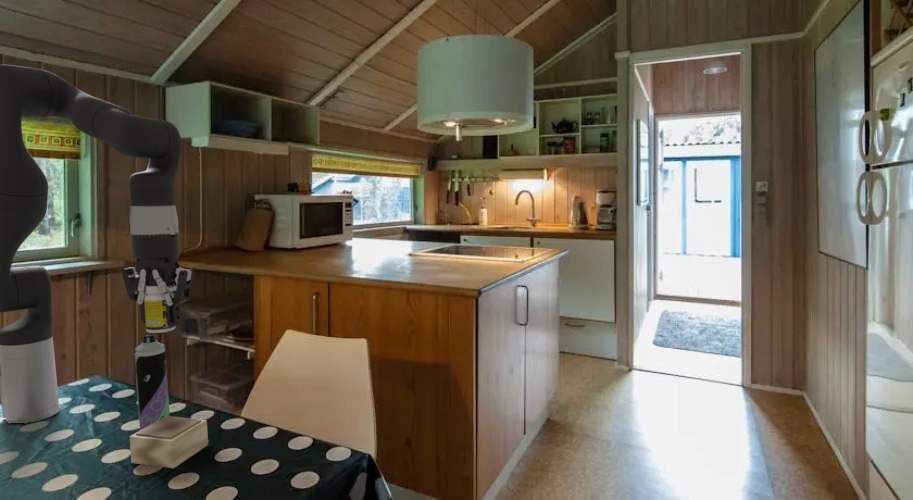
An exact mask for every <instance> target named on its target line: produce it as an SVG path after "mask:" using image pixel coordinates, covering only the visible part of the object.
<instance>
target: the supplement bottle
mask: <svg viewBox="0 0 913 500" xmlns="http://www.w3.org/2000/svg"><path fill="white" fill-rule="evenodd" d="M167 287H168V288H171V285H170V286H167ZM147 294H148V295H147ZM171 294H172V293H171ZM146 295H147V296H146V297H145V299H144V303H145V319H146V324H145V331H146V333H150V334H160V333H161V334H162V333H168V332H171V331H174V330H175V329H176V325H174V326H168V324H167V311H166V306H168V305H167V303H166V300H165V297H164V295H163V294H161V292H160V290H159V287H158V286H146ZM172 297H173V294H172ZM173 298H174V297H173Z"/></svg>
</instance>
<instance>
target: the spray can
mask: <svg viewBox="0 0 913 500" xmlns="http://www.w3.org/2000/svg"><path fill="white" fill-rule="evenodd" d="M154 336H155V335H154V334H152V335H143V340H142V341H141V343H140V344H139V345H138V346H136V347H134V352H133V356H134V366H135V368H134V369H135V381H136V393H137V394H136V397H137V409H138V411H137V412H138V419H139V420H138V421H139V431H140V430H142V429H144V428H146V427H148V426H150V425H152V424H153V423H155V422H157V421H159V420H161V419H163V418H165V417H166V416H171V414H170V400H169V388H168V387H169V386H168V373H167V372H168V371H167V359H166V358H167V357H166V356H167V355H166V347H165V344H164V343H160V342H158V340H157V339H156V338H155V337H154Z"/></svg>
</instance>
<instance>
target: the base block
mask: <svg viewBox="0 0 913 500" xmlns="http://www.w3.org/2000/svg"><path fill="white" fill-rule="evenodd" d="M208 435H209V434H208V420H207V419H199V418H191V417H189V418H188V417H180V416H171V415H170V416H166V417H165V418H163V419H161V420H159V421H157V422H155V423H153V424H152V425H150V426H148V427H146V428H144V429H142V430H140V429H139V431H136V432H135V433H133V434H131V435H130V436H128V437H129V450H130V462H131V464H138V465H139V464H140V465H146V466H155V467H162V468H169V469H175V468H176V467H178V466H179V465H181V464H182V463H184V462H185V461H186V460H188V459H189V458H191V457H192V456H194V455H195V454H197V453H198V452H200V451H201V450H203V449H204V448H206V447H208V446H209V437H208Z"/></svg>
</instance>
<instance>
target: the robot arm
mask: <svg viewBox="0 0 913 500" xmlns="http://www.w3.org/2000/svg"><path fill="white" fill-rule="evenodd" d="M23 117H27V118H28V117H31V118H49V117H50V118H51V117H53V118H63V119H67V120H70V121H71V123H72V124H73V126H74V127H75V128H77V130H79V131H80V132H82V133H84V134H85V135H86V136H87V135H88V136H90V137H91V138H94V139H97V140H99V141H101V142H104V143H106V144H107V145H109V146H110V147H111V148H112V149H113V150H115V151H116V152H117V153H119V154H122V155H125V156H127V157H131V158H137V159H139V158H141V159H149V161H148V165H147V167H146V170H144V171H139V172H135V173H133V174H131V175H130V176H129V178H128V191H129V192H128V194H129V205H130V208H129V209H130V210H129V211H130V212H129V226H130V228H129V229H130V230H129V231H130V244H131V256H132V258H133V259H135V260H136V262H135V265H134V266H132V267H127V268H122V270H121V275H122V279H123V282H124V286H125V290H126V292H127V295H128V299H129V300H130V301H134V302H137V303H138V305H139V310H140V311H139V312H140V320H141V321H142V324H143V325H146V319H145V303H144V299H145V297H146V296H147V295H148V294H146V286H158V287H159V290H160V292H161V294H163V295H164V297H165V300H166V303H167V305H168V306H166V311H167V324H168V326H174V325H179V324H180V322H181V321H182V315H181V314H182V313H181V310H182V309H181V304H182V303H183V302H187V301H189V300H191V296H192V288H193V284H194V278H195V270H194V269H193V268H190V269H189V268H188V269H187V268H183V267H181V265H180V263H179V260H178V258H179V256H180V255H181V247H180V233H179V232H180V231H179V230H180V229H179V217H178V212H177V208H176V196H175V195H176V194H175V192H176V191H175V181H176V180H175V179H176V176H177V172H178V166H179V163H180V159H181V154H182V150H183V142H182V137H181V136H182V135H181V134H180V132H179V130H178V127H176V125H175V124H174V123H172V122H170V121H167V120H166V119H165V120H164V119H159V118H158V119H157V118H151V117H144V116H140V115H139V116H138V115H135V114H134V113H132V112H131V111H130V110H128V109H126V108H124V107H123V106H119V105H117V104H114V103H112V102H109V101H107V100H104V99H102V98H98V97H95V96H92V95H90V94H88V93H86V92H85V91H83V90H82V89H79V88H78V87H76V86H74V85H72V84H71V83H70V82H69V81H66V79H64V78H62V77H61V76H58V75H57V74H55V73H53V72H52V71H48V70H46V69H42V68H37V67H34V68H33V67H28V66H19V65H14V64H13V65H12V64H11V65H10V64H4V63H3V64H0V313H7V312H13V311H14V312H16V311H20V310H26V312H25V314H24V315H22V317H20V318H19V319H17V320H16V321H15V322H13V323H10V324H8V325H6V326H4V327H2V328H1V329H0V372H1V376H0V400H1V411H2V419H3V418H6V419H5V420H6V421H7V422H10V423H24V424H30V423H35V422H39V421H43V420H45V419H48V418H50V417H53V416H54V415H56V414H57V413H59V412H60V404H59V389H58V380H57V369H56V368H57V367H56V357H55V347H54V339H53V336H54V335H53V321H54V319H53V293H52V292H53V291H52V281H51V277H50V274H49V272H48V270H47V269H46V268H45V267H44V266H42V265H28V266H27V265H26V266H24V265H23V266H18V267H17V266H15V267H12V265H13V261H14V258H15V256H16V253H17V251H18V250H19V249H20V247H21V246H22V245H23V244H24V242H25V241H26V240H27V239H28V238H29V237H30V235H31V234H32V233H33V232H34V231H35V230H37V228H38V227H39V226H40V224H41V222H42V221H44V219H45V217H46V214H47V211H48V199H49V197H48V195H49V183H48V179H47V177H46V175H45V173H44V171H43V170H42V168H41V167H40V165H39V164H38V163H37V161H36V160H35V159H34V157H33V156H32V155H31V153H30V151H29V150H28V147H27V146H26V144H25V141H24V137H23V130H22V121H23ZM170 285H171V288H168V287H167V286H170ZM172 294H173V297H174V298H173V297H172ZM6 421H5V422H6ZM7 422H6V423H7ZM29 422H30V423H29ZM10 423H9V424H10Z"/></svg>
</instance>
